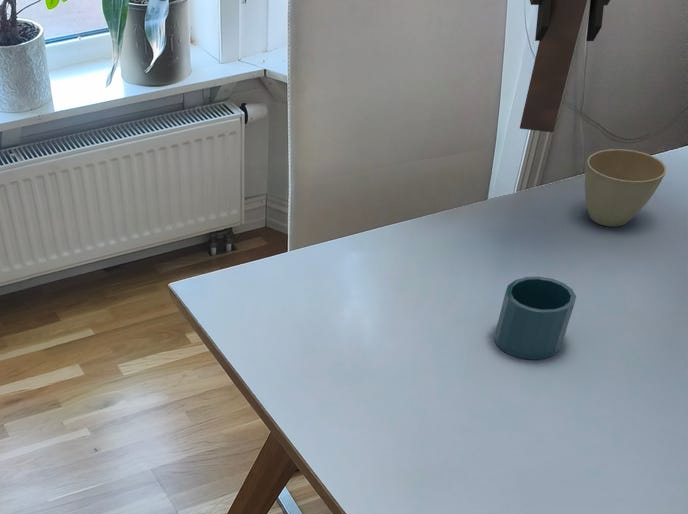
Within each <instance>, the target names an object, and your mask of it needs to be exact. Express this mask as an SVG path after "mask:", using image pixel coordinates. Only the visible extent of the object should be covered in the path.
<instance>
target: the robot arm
mask: <svg viewBox="0 0 688 514" xmlns="http://www.w3.org/2000/svg"><path fill="white" fill-rule="evenodd" d="M610 1H611V0H589V11H588V18H587V21H588V22H587V29H586V30H587V31H586V38H585V39H586V42H594V41H595V39H596V37H597V36H598V34H599V32H600V30H601V29H602V27H603V20H604V19H603V18H604V7H605V6H608V5H609V4H610ZM529 4H530V5H531V6H537V15H536V26H535V38H534V41H536V42H539V41H542V40H543V38H544V36H545V34H546V32H547V30H548V28H549V20H550V10H551V0H529Z"/></svg>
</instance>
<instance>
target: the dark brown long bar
mask: <svg viewBox="0 0 688 514" xmlns="http://www.w3.org/2000/svg"><path fill="white" fill-rule="evenodd" d="M588 2H589V0H551V10H550V20H549V28H548V30H547V32H546V34H545V36H544V38H543V40H542V41H538V45H537V50H536V54H535V58H534V62H533V67H532V72H531V76H530V80H529V86H528V89H527V93H526V98H525V102H524V107H523V111H522V115H521V120H520V124H519V129H520V130H528V131H537V132H544V133H554V132H555V128H556V125H557V123H558V119H559V116H560V113H561V108H562V105H563V100H564V96H565V92H566V90H567V89H566V88H567V84H568V80H569V76H570V73H571V70H572V64H573V61H574V58H575V54H576V49H577V46H578V42H579V37H580V34H581V30H582V26H583V23H584V18H585V14H586V11H587V6H588Z"/></svg>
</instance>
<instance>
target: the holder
mask: <svg viewBox="0 0 688 514" xmlns="http://www.w3.org/2000/svg"><path fill="white" fill-rule="evenodd" d="M576 301H577V295H576V294H575V291H574V289H573V288H572V287H570V286H569V285H567V284H566V283H565V282H563V281H560V280H557V279H554V278H550V277H544V276H524V277H520V278H516V279H515V280H513V281H511V282H510V283H509V284H507V287H506V289H505V293H504V297H503V300H502V304H501V308H500V311H499V312H500V313H499V317H498V319H497V324H496V328H495V332H494V342H495V344H496V346H497V347H498V348H499V349H500V350H501V351H502V352H504V353H505V354H508V355H509V356H512V357H515V358H519V359H523V360H543V359H547V358H550V357H552V356H554V355H556V354H557V353H558V352H559V351H560V349H561V347H562V345H563V341H564V338H565V335H566V333H567V329H568V326H569V323H570V319H571V316H572V313H573V310H574V307H575V303H576Z"/></svg>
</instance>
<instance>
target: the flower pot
mask: <svg viewBox="0 0 688 514" xmlns="http://www.w3.org/2000/svg"><path fill="white" fill-rule="evenodd" d="M585 166H586V167H585V172H584V196H585V203H586V208H587V212H588V215H589V218H590V219H591V220H592V222H593V223H594V222H595V223H596V224H599V225H601V226H605V227H614V228H615V227H620V226H624V225H626V224H627V223H628V222H629V221H631V220H632V219H633V218H634V217H635V216H636V215H637V214H638V213H639V212H641V210H642V209H643V208H644V207H645V205H646V204H647V203H648V202H649V200H650V199H651V198H652V197H653V195H654V194H655V192H656V191H657V189H658V187H659V186H660V184H661V183H662V181H663V179H664V177H665V175H666V173H667V167H666V165H665V163H664V162H663V161H662V160H660V159H659V158H657V157H655V156H654V155H652V154H649V153H645V152H642V151H638V150H632V149H625V148H624V149H622V148H612V149H604V150H599V151H596V152H594V153H592V154H590V155H589V156H588V158H587V160H586V165H585Z"/></svg>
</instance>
